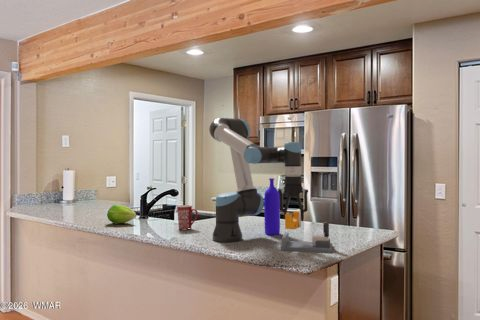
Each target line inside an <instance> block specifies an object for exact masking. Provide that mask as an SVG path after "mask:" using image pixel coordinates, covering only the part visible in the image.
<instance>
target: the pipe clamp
mask: <svg viewBox="0 0 480 320" xmlns="http://www.w3.org/2000/svg"><path fill="white" fill-rule="evenodd" d="M299 212H300V210H299V211H298V210H297V211H296V210H295V211H293V213H289V214H285V219H284V227H285V229H286V230H297V229H298V228H300V227H299Z"/></svg>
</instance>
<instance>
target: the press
mask: <svg viewBox="0 0 480 320" xmlns="http://www.w3.org/2000/svg"><path fill="white" fill-rule="evenodd" d="M289 236H290V235H289V232H284V233H283V235H282V236H281V240H280V241H281V246H280V251H285V252H286V251H291V252H311V253H329V254H330V253H333V242H331V239H330V238H329V242H325V241H316V246H312V241H300V240H299V241H298V240H296V241H295V240H289Z"/></svg>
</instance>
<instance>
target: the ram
mask: <svg viewBox="0 0 480 320" xmlns="http://www.w3.org/2000/svg"><path fill="white" fill-rule="evenodd" d="M322 224H323V234H312V235H311V236H312V237H311V239H312V240H311V242H312V246H316V241H325V242H329V239H330V238H329V237H330V222H328V221H325V222H322Z"/></svg>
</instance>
